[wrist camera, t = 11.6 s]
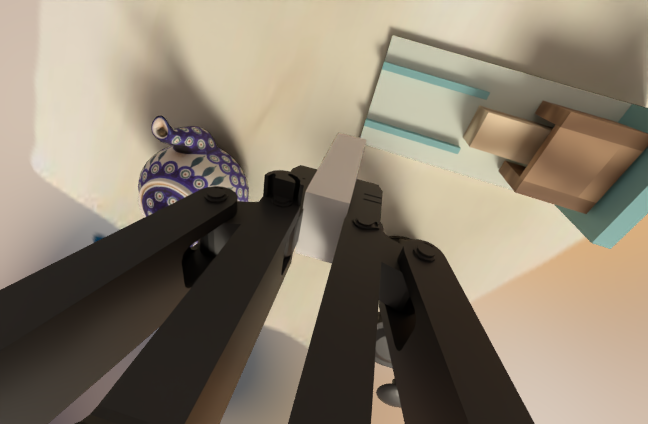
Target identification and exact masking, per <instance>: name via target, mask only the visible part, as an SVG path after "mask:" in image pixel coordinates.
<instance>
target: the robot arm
mask: <svg viewBox="0 0 648 424" xmlns="http://www.w3.org/2000/svg"><path fill="white" fill-rule="evenodd" d="M365 144H366V139H362V138H358V137H354V136H350V135H346V134H342V133H338V134H337V136H336V138H335V139H334V141H333V143H332V145H331V147H330V148H329V150H328V152H327V154H326V156H325V157H324V159H323V161H322V163H321V165H320V166H319V168H318V170H317V169H313V168H309V167H305V166H301V165H300V166H298V167H296V168H293V169H292V170H291V172H289V171H283V170H279V171H272V172H268V173H267V174H265V179H264V193H263V197H262V198H261V200H260V201H259V202H243V201H238V196H237V194H236V192H234V191H233V190H231V189H229V188H226V187H221V186H220V187H219V186H213V187H206V188H203V189H200V190H198V191H196V192H194V193H192V194H190V195H188V196H186V197H185V198H183V199H181V200H179V201H177V202H175V203H173V204H171V205H169V206H167V207H165V208H163V209H161V210H159V211H157V212H155V213H153V214H151V215H149V216H147V217H145V218H143V219H141V220H139V221H137V222H135V223H133V224H131V225H129V226H127V227H125V228H123V229H121V230H119V231H117V232H115V233H113V234H111V235H109V236H107V237H105V238H103V239H101V240H99V241H97V242H95V243H93V244H91V245H89V246H87V247H85V248H83V249H81V250H79V251H77V252H75V253H73V254H71V255H69V256H67V257H65V258H63V259H61V260H59V261H57V262H55V263H53V264H51V265H49V266H47V267H45V268H43V269H41V270H39V271H37V272H35V273H33V274H31V275H29V276H27V277H25V278H23V279H21V280H19V281H18V282H16V283H14V284H11V285H9V286H7V287H5V288H3V289H1V290H0V424H48V423H50V422H51V421H52V420H53V419H54V418H55V417H56V416H58V415H59V414H60V413H61V412H62V411H63V410H65V409H66V408H67V407H68V406H69V405H70V404H71V403H72V402H74V401H75V400H76V399H77V398H78V397H79V396H81V395H82V394H83V393H84V392H85V391H86V390H87V389H89V388H90V387H91V386H92V385H93V384H94V383H96V382H97V381H98V380H99V379H100V378H101V377H103V375H105V374H106V373H107V372H108V371H109V370H110V369H112V368H113V367H114V366H115V365H116V364H117V363H119V362H120V361H121V360H122V359H123V358H124V357H126V356H127V354H129V353H130V352H131V351H132V350H134V349H135V348H136V347H137V346H138V345H139V344H140V343H142V342H143V341H144V340H145V339H146V338H147V337H149V336H150V335H151V334H152V333H153V332H154V331H155V330H157V329H158V328H159V327H160V328H159V329H158V330H157V331H156V333H155V334H154V335H153V337H152V338H151V339H150V340H149V342H148V343H147V344H146V346H145V347H144V348H143V349H142V350H141V352H140V353H139V354H138V356H137V357H136V358H135V359H134V361H133V362H132V363H131V364H130V366H129V367H128V368H127V369H126V371H125V372H124V373H123V375H122V376H121V377H120V379H119V380H118V381H117V382H116V383H115V385H114V386H113V387H112V389H111V390H110V391H109V392H108V394H107V395H106V396H105V397H104V399H103V400H102V401H101V402H100V404H99V405H98V406H97V407H96V408H95V409H94V411H93V412H92V413H91V414H90V415H89V416H87V417H86V418H85V419H83V420H82V421H81V422H78V423H75V424H220V422H221V419H222V417H223V414H224V413H225V410H226V408H227V406H228V403H229V401H230V399H231V397H232V394H233V392H234V390H235V388H236V386H237V383H238V381H239V379H240V377H241V374H242V372H243V370H244V367H245V365H246V363H247V360H248V358H249V356H250V354H251V352H252V349H253V347H254V345H255V342H256V340H257V338H258V336H259V334H260V331H261V329H262V327H263V325H264V322H265V320H266V318H267V316H268V313H269V311H270V309H271V307H272V304H273V302H274V300H275V298H276V295H277V293H278V291H279V289H280V286H281V284H282V282H283V280H284V277H285V275H286V273H287V271H288V268H289V266H290V264H291V260H292V254H293V251H294V249H295V246H296V250H295V253H297V254H301V255H304V256H308V257H311V258H315V259H318V260H322V261H325V262H329V263H332V265H331V269H330V273H329V276H328V280H327V284H326V287H325V291H324V295H323V298H322V302H321V305H320V309H319V313H318V316H317V320H316V324H315V327H314V331H313V335H312V338H311V342H310V345H309V349H308V353H307V356H306V360H305V364H304V368H303V371H302V375H301V378H300V382H299V386H298V389H297V393H296V397H295V400H294V404H293V407H292V411H291V415H290V418H289V422H288V424H371V413H372V398H373V382H374V367H375V351H376V335H377V320H378V304H379V308H380V313H381V317H382V322H383V327H384V331H385V336H386V340H387V345H388V349H389V354H390V358H391V363H392V367H393V372H394V376H395V381H396V386H397V390H398V395H399V399H400V404H401V408H402V413H403V417H404V422H405V424H534V422H533V420H532V418H531V416H530V414H529V412H528V411H527V409H526V407H525V405H524V403H523V402H522V399H521V397H520V396H519V394H518V392H517V390H516V388H515V387H514V384H513V382H512V381H511V379H510V377H509V375H508V373H507V371H506V370H505V368H504V366H503V364H502V362H501V360H500V358H499V356H498V354H497V353H496V351H495V349H494V347H493V345H492V343H491V341H490V340H489V338H488V336H487V334H486V332H485V330H484V328H483V326H482V325H481V323H480V321H479V319H478V317H477V315H476V314H475V312H474V310H473V308H472V306H471V304H470V302H469V300H468V298H467V297H466V295H465V293H464V291H463V289H462V287H461V285H460V284H459V282H458V280H457V278H456V276H455V274H454V272H453V270H452V269H451V267H450V265H449V263H448V261H447V259H446V257H445V256H444V254H443V253H442V252H441V250H439V249H438V248H437V247H436V246H434V245H433V244H431V243H429V242H426V241H423V240H419V239H411V240H409V241H406V242H405V244H404V245H402V244H400V243H398V242H396V241H394V240H392V239H391V238H389V237H388V236H387V235H386V234H385V233H384V232H383V226H382V224H381V222H380V217H381V205H382V190H381V188H380V187H379V185H377V184H373V183H369V182H366V181H362V180H358V179H356V178H357V175H358V171H359V167H360V163H361V159H362V155H363V152H364V148H365ZM197 241H198V243H197V244H196V245H194V246H192V247H190V246H191V245H192V244H194V243H195V242H197Z"/></svg>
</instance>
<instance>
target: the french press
mask: <svg viewBox="0 0 648 424" xmlns="http://www.w3.org/2000/svg"><path fill="white" fill-rule="evenodd" d="M389 238H391V239H392V240H394V241H396V242H398V243H400V244H402V245H404V244H405V242H406V241H409V240H411V239H408V238H405V237H400V236H390V237H389ZM375 362H377V363H379V364H381V365H384V366H387V367H390V368H393V367H392V363H391V358H390V354H389V349H388V345H387V340H386V336H385V331H384V327H383V322H382V317H381V313H380V312H378V320H377V335H376V351H375ZM376 393H377V396H378V398H379V399H380V400H381V401H382V402H384V403H385V404H388V405H390V406H394V407H399V408H401V404H400V399H399V395H398V390H397V386H396V381H395V379H393V380H392V384H384V385H382V386H380V387H379V388H378V389H377V392H376Z"/></svg>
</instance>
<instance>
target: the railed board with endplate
mask: <svg viewBox="0 0 648 424" xmlns="http://www.w3.org/2000/svg"><path fill="white" fill-rule="evenodd" d="M542 101H547V102H550V103H554V104H557V105H561V106H564V107H567V108H571V109H574V110H578V111H581V112H585V113H588V114H591V115H595V116H598V117H602V118H605V119H609V120H612V121H615V122H618V123H621V124H623V125H626V126H629V127H631V128H634V129H637V130H640V131H642V132H645V133H648V108H645V107H642V106H638V105H634V104H631V103H627V102H624V101H620V100H617V99H613V98H610V97H606V96H603V95H599V94H596V93H592V92H589V91H585V90H582V89H578V88H575V87H571V86H568V85H564V84H561V83H557V82H554V81H550V80H547V79H543V78H540V77H536V76H533V75H530V74H526V73H523V72H519V71H516V70H512V69H509V68H505V67H502V66H498V65H495V64H491V63H488V62H484V61H481V60H477V59H474V58H470V57H467V56H463V55H460V54H456V53H453V52H449V51H446V50H442V49H439V48H435V47H432V46H428V45H425V44H421V43H418V42H415V41H411V40H408V39H404V38H401V37H397V36H394V35H393V36H392V39H391V42H390V45H389V48H388V52H387V55H386V58H385V61H384V64H383V67H382V71H381V74H380V77H379V80H378V83H377V86H376V89H375V93H374V96H373V99H372V102H371V105H370V108H369V112H368V115H367V118H366V121H365V124H364V127H363V130H362V134H361V137H360V138H362V139H366V144H365V145H367V146H370V147H373V148H377V149H380V150H383V151H386V152H389V153H393V154H396V155H399V156H402V157H406V158H409V159H412V160H415V161H419V162H422V163H425V164H428V165H432V166H435V167H438V168H441V169H444V170H448V171H451V172H454V173H457V174H461V175H464V176H467V177H470V178H474V179H477V180H480V181H483V182H487V183H490V184H493V185H496V186H499V187H503V188H506V189H509V190H512V191H514V190H513V189H512V188H511V187H510V185H509V184H508V183H507V182H506V180H505V179H504V178H503V176H502V175H501V174H500V173H499V169H500V167H501V166H502V164H503V163H504V161H508V162H511V163H515V164H518V165H521V166H524V167H527V166H528V165H526V164H523V163H520V162H517V161H513V160H510V159H507V158H504V157H500V156H497V155H494V154H491V153H488V152H484V151H481V150H478V149H475V148H471V147H469V145H468V144H467V143H466V141H465V140H464V138H463V136H464V134H465V132H466V130H467V128H468V126H469V124H470V122H471V120H472V118H473V117H474V115H475V113H476V111H477V109H478V107H479V105H480V106H483V107H487V108H490V109H493V110H497V111H500V112H503V113H507V114H510V115H513V116H517V117H520V118H523V119H527V120H530V121H533V122H537V123H540V124H543V125H546V126H550V127H553V128H554V126H555V124H553V123H552V122H550V121H548V120H546V119H544V118H542V117H540V116H538V115H536V114H535V112H536V110H537V109H538V107H539V106H540V104H541V103H542ZM554 205H555V204H554ZM555 206H556V207H557V208H558V209H559V210H560V211H561V212H562V213H563V214H564V215H565V216H566V217H567V218H568V219H569V220H570V221H571V222H572V223H573V224H574V225H575V226H576V227H577V228H578V229H579V230H580V232H581V233H582V234H583V235H584V236H585V237H586V238H587V239H588V240H589V241H590V242H591V243H593V244H596V245H599V246H603V247H606V248H609V249H611V248H612V247H613V246H614V245H615V244H616V243H617V242H618V241H619V240H620V239H621V238H623V237H624V236H625V235H626V234H627V233H628V232H629V231H630V230H631V229H632V228H633V227H634V226H635V225H636V224H637V223H638V222H639V221H640V220H641V219H642V218H643V217H644V216H646V215H647V213H648V147H647V148H646V149H645V150H644V151H643V152H642V153H641V154H640V155H639V157H638V158H637V159H636V160H635V161H634V162H633V163H632V164H631V165H630V166H629V168H628V169H627V170H626V171H625V172H624V173H623V174H622V175H621V176H620V178H619V179H618V180H617V181H616V182H615V183H614V184H613V185H612V186H611V188H610V189H609V190H608V191H607V192H606V193H605V194H604V195H603V196H602V197H601V199H600V200H599V201H598V202H597V203H596V204H595V205H594V206H593V207H592V209H591V210H590V211H589V212H588V213H587V214H584V213H581V212H577V211H574V210H571V209H568V208H564V207H561V206H558V205H555Z"/></svg>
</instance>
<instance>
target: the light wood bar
mask: <svg viewBox="0 0 648 424" xmlns="http://www.w3.org/2000/svg"><path fill="white" fill-rule="evenodd" d="M552 129H553V127H550V126H546V125H543V124H540V123H537V122H533V121H530V120H527V119H523V118H520V117H517V116H513V115H510V114H507V113H503V112H500V111H497V110H493V109H490V108H487V107H483V106H480V105H479V107H478V109H477V111H476V113H475V115H474V117H473V118H472V120H471V122H470V124H469V126H468V128H467V130H466V132H465V134H464V136H463V138H464V140H465V141H466V143H467V144H468V145H469V147H471V148H475V149H478V150H481V151H484V152H488V153H491V154H494V155H497V156H500V157H504V158H507V159H510V160H513V161H517V162H520V163H523V164H526V165H528V164H529V163H530V161H531V160H532V158H533V157H534V155H535V154H536V152H537V151H538V150H539V148H540V147H541V145H542V144H543V142H544V141H545V139H546V138H547V136H548V135H549V133H550V132H551V131H552Z"/></svg>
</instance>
